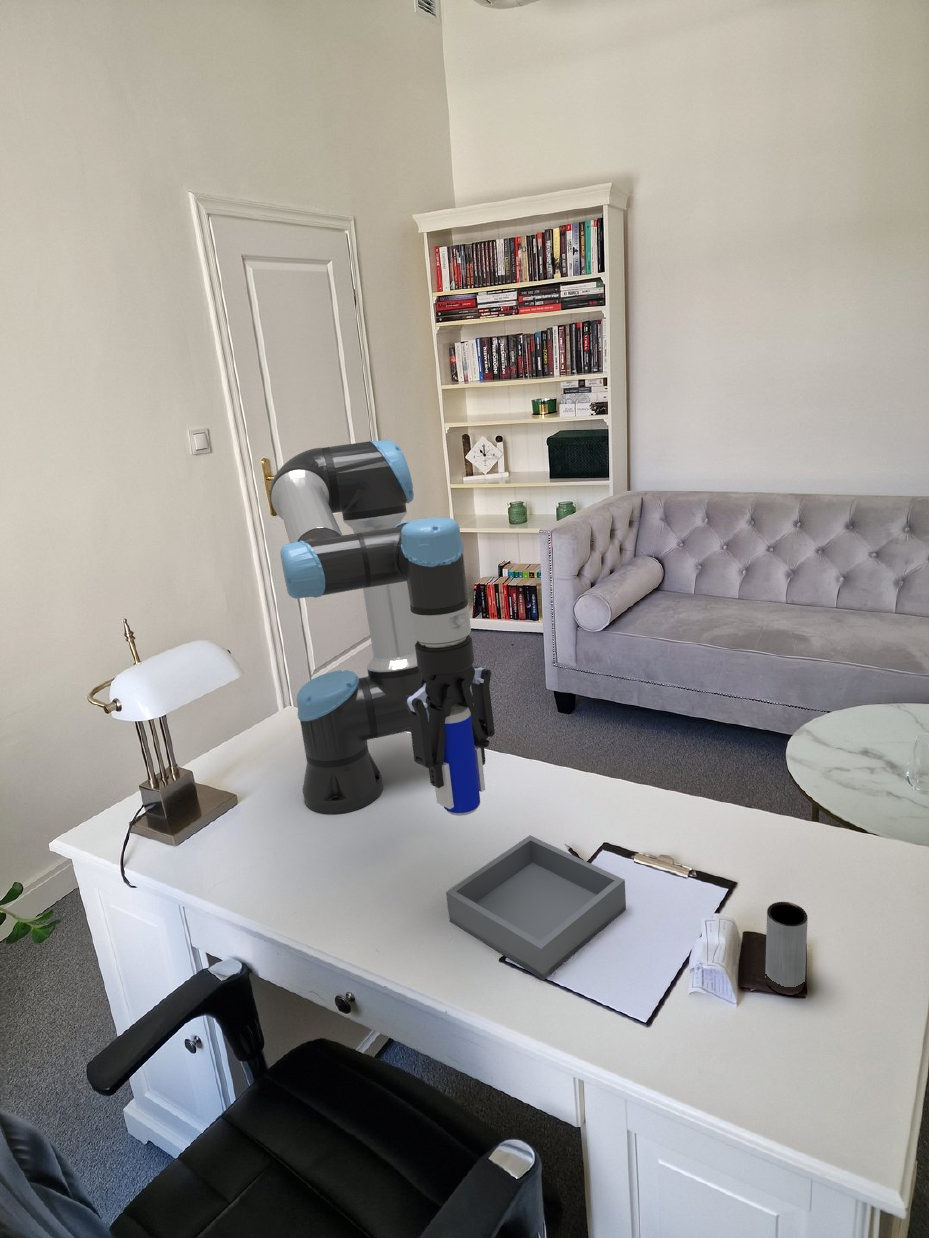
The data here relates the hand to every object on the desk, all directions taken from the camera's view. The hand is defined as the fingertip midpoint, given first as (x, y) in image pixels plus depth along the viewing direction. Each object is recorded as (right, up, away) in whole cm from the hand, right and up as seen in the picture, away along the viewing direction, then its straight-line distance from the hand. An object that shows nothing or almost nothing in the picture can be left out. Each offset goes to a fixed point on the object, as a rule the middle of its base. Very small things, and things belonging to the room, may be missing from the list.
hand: (461, 795), depth 112 cm
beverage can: (0, -2, +1) cm, 2 cm away
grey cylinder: (+40, -21, -12) cm, 47 cm away
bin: (+11, -18, +4) cm, 22 cm away
